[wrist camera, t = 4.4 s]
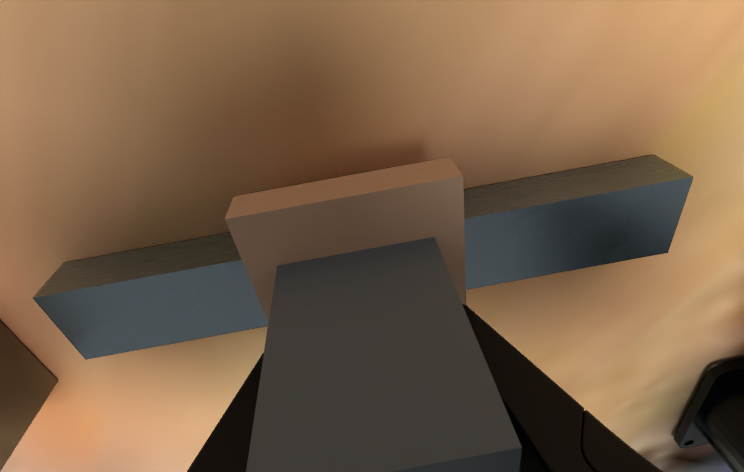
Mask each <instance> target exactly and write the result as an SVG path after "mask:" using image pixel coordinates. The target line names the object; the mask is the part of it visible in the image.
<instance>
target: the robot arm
mask: <svg viewBox="0 0 744 472" xmlns="http://www.w3.org/2000/svg"><path fill="white" fill-rule="evenodd" d="M462 305H463V307H464V310H465V312H466V315H467V317H468V319H469V322H470V324H471V327H472V329H473V331H474V334H475V336H476V339H477V341H478V343H479V346H480V348H481V351H482V353H483V355H484V358H485V360H486V363H487V365H488V367H489V370H490V372H491V374H492V377H493V379H494V382H495V384H496V386H497V389H498V391H499V394H500V396H501V398H502V401H503V403H504V406H505V408H506V410H507V413H508V415H509V418H510V420H511V422H512V425H513V427H514V430H515V432H516V434H517V437H518V439H519V442H520V444H521V446H522V451H521V459H520V467H519V472H663V471H661V470H660V469H659V468H657V467H656V466H655V465H653V464H652V463H651V462H649V461H648V460H647V459H645V458H644V457H643V456H641V455H640V454H639V453H637V452H636V451H635V450H634V449H632V448H631V447H630V446H628V445H627V444H626V443H625V442H624V441H622V440H621V439H620V438H619V437H617V436H616V435H615V434H614V433H613V432H611V431H610V430H609V429H608V428H607V427H605V426H604V425H603V424H602V423H601V422H600V421H598V420H597V419H596V418H595V417H594V416H593V415H592V414H591V413H589V412H588V411H586V410H585V411H584V408H583V407H582V406H581V405H580V404H579V403H578V402H577V401H575V400H574V399H573V398H572V397H571V396H570V395H568V394H567V393H566V392H565V391H564V390H563V389H562V388H560V387H559V386H558V385H557V384H556V383H555V382H554V381H552V380H551V379H550V378H549V377H548V376H547V375H545V374H544V373H543V372H542V371H541V370H540V369H539V368H537V367H536V366H535V365H534V364H533V363H532V362H531V361H529V360H528V359H527V358H526V357H525V356H524V355H522V354H521V353H520V352H519V351H518V350H517V349H516V348H514V347H513V346H512V345H511V344H510V343H509V342H508V341H506V340H505V339H504V338H503V337H502V336H501V335H499V334H498V333H497V332H496V331H495V330H494V329H493V328H491V327H490V326H489V325H488V324H487V323H486V322H485V321H483V320H482V319H481V318H480V317H479V316H478V315H476V314H475V313H474V312H473V311H472V310H471V309H470V308H468V307H467V306H466V305H464V304H462ZM263 356H264V353H263V354H262V356H261V357H260V359H259V360H258V362H257V364H256V365H255V367H254V368H253V370H252V371H251V373H250V374H249V376H248V377H247V379H246V381H245V382H244V384H243V385H242V387H241V388H240V390H239V391H238V393H237V395H236V396H235V398H234V399H233V401H232V402H231V404H230V405H229V407H228V409H227V410H226V412H225V413H224V415H223V416H222V418H221V419H220V421H219V422H218V424H217V426H216V427H215V429H214V430H213V432H212V433H211V435H210V436H209V438H208V440H207V441H206V443H205V444H204V446H203V447H202V449H201V450H200V452H199V454H198V455H197V457H196V458H195V460H194V461H193V463H192V464H191V466H190V467H189V469H188V471H187V472H246V468H247V462H248V455H249V449H250V442H251V435H252V429H253V422H254V416H255V409H256V402H257V396H258V389H259V383H260V376H261V369H262V363H263ZM674 440H675V441H676V443H677V444H678V445H679V447H680V448H688V447H694V446H699V445H705V444H711V445H712V447H713V448H714V449H715V450H716V451H717V453H718V454H719V455H720V456H721V458H722V459H723V460H724V461H725V462H726V464H727V465H728V466H729V467H730V469H731V470H732V471H733V472H744V360H739V361H733V362H728V363H723V364H719V365H717V366H715V367H713V368H712V369H710V371H709V372H708V373H707V375H706V377H705V379H704V381H703V383H702V385H701V387H700V389H699V390H698V392H697V394H696V396H695V398H694V400H693V402H692V404H691V406H690V408H689V410H688V411H687V413H686V415H685V417H684V419H683V421H682V423H681V425H680V427H679V429H678V431H677V432H676V434H675V436H674Z"/></svg>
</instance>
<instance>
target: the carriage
mask: <svg viewBox="0 0 744 472" xmlns="http://www.w3.org/2000/svg"><path fill="white" fill-rule="evenodd" d="M225 221H226V224H227V226H228V228H229V231H230V233H231V235H232V238H233V240H234V242H235V245H236V247H237V250H238V252H239V254H240V257H241V259H242V261H243V264H244V266H245V268H246V271H247V273H248V275H249V278H250V280H251V282H252V285H253V287H254V290H255V292H256V294H257V297H258V299H259V301H260V304H261V306H262V308H263V311H264V313H265V315H266V318H267V320H268V330H267V336H266V343H265V350H264V356H263V363H262V369H261V376H260V383H259V389H258V396H257V402H256V409H255V416H254V422H253V429H252V435H251V442H250V449H249V455H248V462H247V468H246V472H519V467H520V459H521V451H522V446H521V444H520V442H519V439H518V437H517V434H516V432H515V430H514V427H513V425H512V422H511V420H510V418H509V415H508V413H507V410H506V408H505V406H504V403H503V401H502V398H501V396H500V394H499V391H498V389H497V386H496V384H495V382H494V379H493V377H492V374H491V372H490V370H489V367H488V365H487V363H486V360H485V358H484V355H483V353H482V351H481V348H480V346H479V343H478V341H477V339H476V336H475V334H474V331H473V329H472V327H471V324H470V322H469V319H468V317H467V315H466V312H465V310H464V307H463V305H462V304H464V305H466V276H465V229H464V182H463V174H462V173H461V171H460V170H459V168H458V167H457V166H456V164H455V163H454V161H453V160H452V158H451V157H446V158H441V159H435V160H430V161H424V162H419V163H413V164H408V165H402V166H397V167H391V168H386V169H381V170H375V171H370V172H364V173H359V174H353V175H348V176H342V177H337V178H331V179H326V180H320V181H315V182H309V183H304V184H299V185H293V186H288V187H282V188H277V189H271V190H266V191H260V192H255V193H249V194H244V195H238V196H234V197H233V199H232V202H231V204H230V207H229V209H228V212H227V215H226V217H225Z"/></svg>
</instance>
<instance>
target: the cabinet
mask: <svg viewBox="0 0 744 472" xmlns="http://www.w3.org/2000/svg"><path fill="white" fill-rule="evenodd" d="M57 382H58V380H57V379H56V378H55V377H54V376H53V375H52V374H51V373H50V372H49V371H48V370H47V369H46V368H45V367H44V366H43V365H42V364H41V363H40V362H39V361H38V360H37V359H36V357H35V356H34V355H33V354H32V353H31V352H30V351H29V350H28V349H27V348H26V347H25V346H24V345H23V344H22V343H21V342H20V341H19V340H18V339H17V338H16V337H15V336H14V335H13V334H12V333H11V332H10V331H9V330H8V329H7V328H6V327H5V325H4V324H3V323H2V322H1V321H0V471H1V469H2V468H3V466H4V465H5V463H6V462H7V460H8V459H9V457H10V455H11V454H12V452H13V451H14V449H15V448H16V446H17V444H18V443H19V441H20V440H21V438H22V437H23V435H24V434H25V432H26V430H27V429H28V427H29V426H30V424H31V423H32V421H33V419H34V418H35V416H36V415H37V413H38V412H39V410H40V409H41V407H42V405H43V404H44V402H45V401H46V399H47V398H48V396H49V395H50V393H51V391H52V390H53V388H54V387H55V385H56V384H57Z"/></svg>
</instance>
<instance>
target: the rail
mask: <svg viewBox="0 0 744 472" xmlns="http://www.w3.org/2000/svg"><path fill="white" fill-rule="evenodd" d="M692 180H693V176H691V175H689V174H688V173H686V172H684V171H682V170H680V169H679V168H677V167H675V166H673V165H671V164H670V163H668V162H666V161H664V160H663V159H661V158H659V157H657V156H655V155H650V156H644V157H639V158H633V159H628V160H622V161H617V162H612V163H606V164H601V165H595V166H590V167H584V168H579V169H573V170H568V171H562V172H557V173H551V174H546V175H541V176H535V177H530V178H524V179H519V180H513V181H508V182H502V183H497V184H491V185H486V186H481V187H475V188H470V189H464V229H465V276H466V290H467V289H472V288H478V287H483V286H488V285H494V284H499V283H505V282H510V281H516V280H521V279H527V278H532V277H537V276H543V275H548V274H554V273H559V272H565V271H570V270H576V269H581V268H586V267H592V266H597V265H603V264H608V263H614V262H619V261H625V260H630V259H635V258H641V257H646V256H652V255H657V254H663V253H668V250H669V247H670V245H671V242H672V239H673V236H674V233H675V230H676V227H677V224H678V221H679V218H680V215H681V212H682V209H683V206H684V203H685V200H686V198H687V195H688V192H689V189H690V186H691V183H692ZM33 299H34V300H35V301H36V303H37V304H38V305H39V306H40V307H41V308H42V310H43V311H44V312H45V313H46V314H47V315H48V316H49V318H50V319H51V320H52V321H53V322H54V323H55V325H56V326H57V327H58V328H59V329H60V330H61V332H62V333H63V334H64V335H65V336H66V337H67V338H68V340H69V341H70V342H71V343H72V344H73V345H74V347H75V348H76V349H77V350H78V351H79V352H80V354H81V355H82V356H83V357H84V358H85V359H91V358H96V357H102V356H107V355H113V354H118V353H124V352H129V351H134V350H140V349H145V348H151V347H156V346H162V345H167V344H173V343H178V342H183V341H189V340H194V339H200V338H205V337H211V336H216V335H222V334H227V333H232V332H238V331H243V330H249V329H254V328H260V327H265V326H268V320H267V318H266V315H265V313H264V311H263V308H262V306H261V304H260V301H259V299H258V297H257V294H256V292H255V290H254V287H253V285H252V282H251V280H250V278H249V275H248V273H247V271H246V268H245V266H244V264H243V261H242V259H241V257H240V254H239V252H238V250H237V247H236V245H235V242H234V240H233V238H232V235H231V233H230V232H229V233H224V234H218V235H213V236H207V237H202V238H197V239H191V240H186V241H180V242H175V243H169V244H164V245H158V246H153V247H147V248H142V249H136V250H131V251H126V252H120V253H115V254H109V255H104V256H98V257H93V258H87V259H82V260H76V261H71V262H65V263H63V264H62V265H61V266H60V267H59V268H58V270H57V271H56V272H55V273H54V274H53V275H52V276H51V278H50V279H49V280H48V281H47V282H46V283H45V284H44V286H43V287H42V288H41V289H40V290H39V291H38V292H37V294H36V295H35V296H34V297H33Z"/></svg>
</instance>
